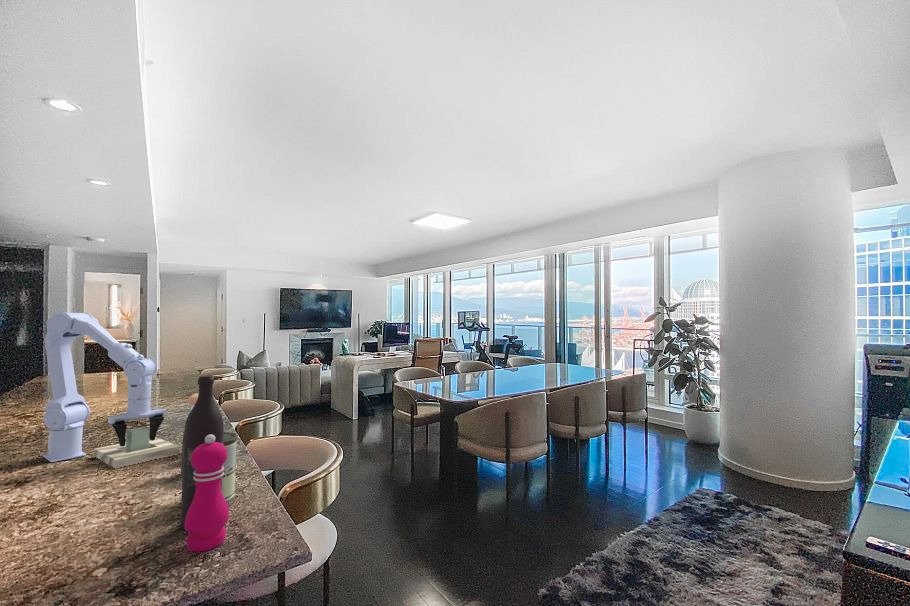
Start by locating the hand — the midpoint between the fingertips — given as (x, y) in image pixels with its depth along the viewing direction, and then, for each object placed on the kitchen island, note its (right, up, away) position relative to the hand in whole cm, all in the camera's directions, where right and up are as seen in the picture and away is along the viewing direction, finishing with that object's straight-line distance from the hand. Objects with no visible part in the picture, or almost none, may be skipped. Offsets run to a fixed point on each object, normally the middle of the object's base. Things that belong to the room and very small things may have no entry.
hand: (137, 442), depth 127 cm
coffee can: (+41, -3, -31) cm, 51 cm away
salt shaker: (+16, -4, +4) cm, 18 cm away
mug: (+27, -4, -15) cm, 31 cm away
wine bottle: (+46, -2, -43) cm, 63 cm away
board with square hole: (0, -4, 0) cm, 4 cm away
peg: (0, -4, 0) cm, 4 cm away
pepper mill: (+52, -2, -50) cm, 72 cm away
